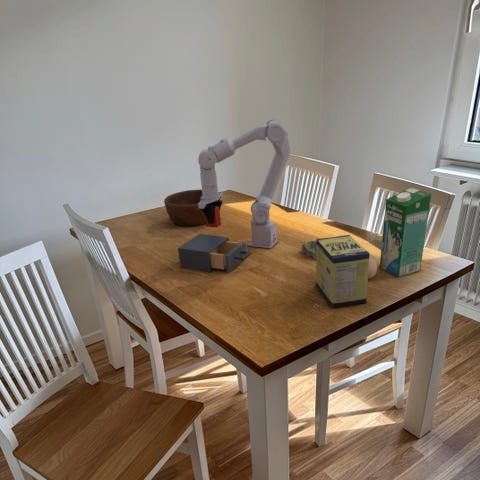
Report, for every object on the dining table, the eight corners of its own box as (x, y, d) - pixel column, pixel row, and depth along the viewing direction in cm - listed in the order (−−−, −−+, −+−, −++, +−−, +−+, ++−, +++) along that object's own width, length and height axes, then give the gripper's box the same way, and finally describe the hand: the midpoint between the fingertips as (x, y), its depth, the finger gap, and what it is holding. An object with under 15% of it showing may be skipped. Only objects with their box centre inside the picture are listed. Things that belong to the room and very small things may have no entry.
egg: (369, 273, 147) (371, 250, 143) (379, 279, 143) (382, 256, 138) (355, 276, 146) (356, 253, 142) (364, 283, 141) (366, 260, 137)
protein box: (346, 280, 144) (349, 233, 136) (366, 303, 130) (370, 253, 122) (315, 285, 143) (315, 238, 135) (332, 308, 129) (333, 258, 121)
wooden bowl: (175, 211, 220) (172, 190, 214) (226, 210, 216) (224, 188, 211) (160, 229, 199) (156, 206, 193) (216, 228, 195) (214, 204, 190)
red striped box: (221, 224, 171) (218, 205, 168) (217, 227, 169) (214, 207, 165) (210, 224, 173) (208, 204, 170) (206, 226, 171) (204, 207, 167)
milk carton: (379, 267, 150) (386, 191, 137) (401, 261, 153) (410, 186, 140) (397, 277, 143) (407, 198, 130) (420, 270, 146) (431, 193, 133)
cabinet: (230, 256, 167) (228, 237, 164) (210, 272, 157) (208, 252, 153) (201, 252, 173) (199, 233, 169) (180, 267, 162) (177, 247, 158)
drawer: (256, 258, 162) (255, 243, 159) (239, 273, 152) (238, 257, 149) (219, 253, 168) (217, 238, 165) (200, 267, 158) (198, 252, 156)
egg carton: (298, 251, 167) (298, 241, 165) (315, 246, 169) (315, 236, 167) (315, 260, 158) (315, 249, 156) (333, 255, 161) (333, 244, 159)
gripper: (210, 179, 171) (213, 214, 178) (189, 190, 160) (194, 227, 167) (226, 180, 168) (229, 216, 175) (206, 191, 157) (210, 228, 164)
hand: (213, 221), depth 171 cm, fingers closed on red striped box, 3 cm apart
